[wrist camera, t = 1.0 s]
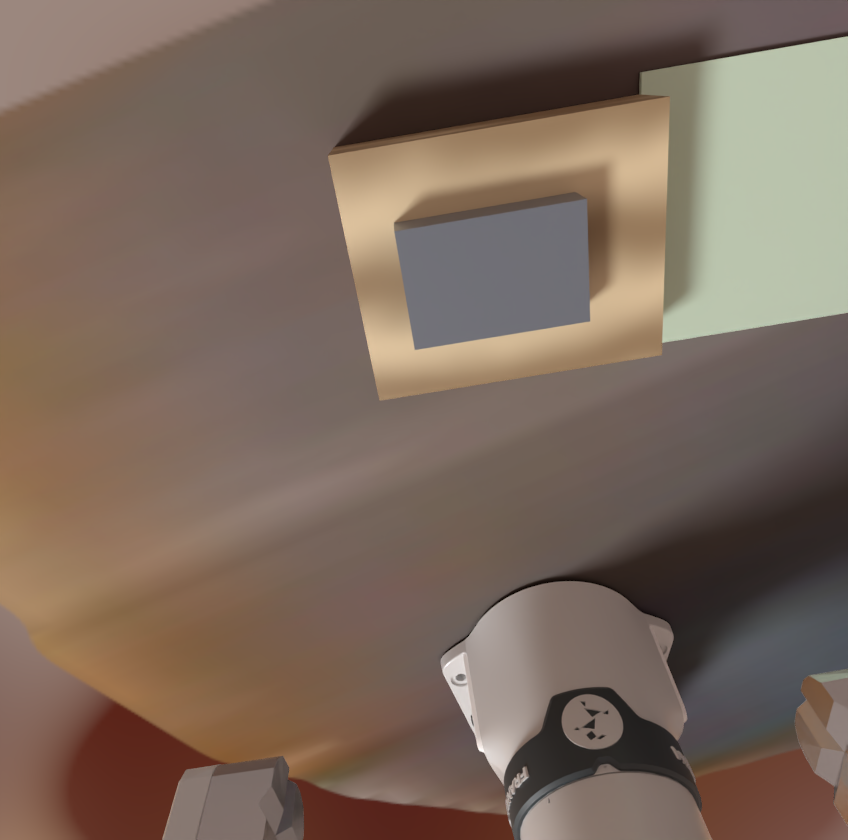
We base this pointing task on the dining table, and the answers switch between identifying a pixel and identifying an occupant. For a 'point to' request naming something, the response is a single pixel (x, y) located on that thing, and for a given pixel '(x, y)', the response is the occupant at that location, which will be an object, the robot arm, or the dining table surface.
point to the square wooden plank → (501, 184)
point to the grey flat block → (496, 270)
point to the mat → (755, 189)
